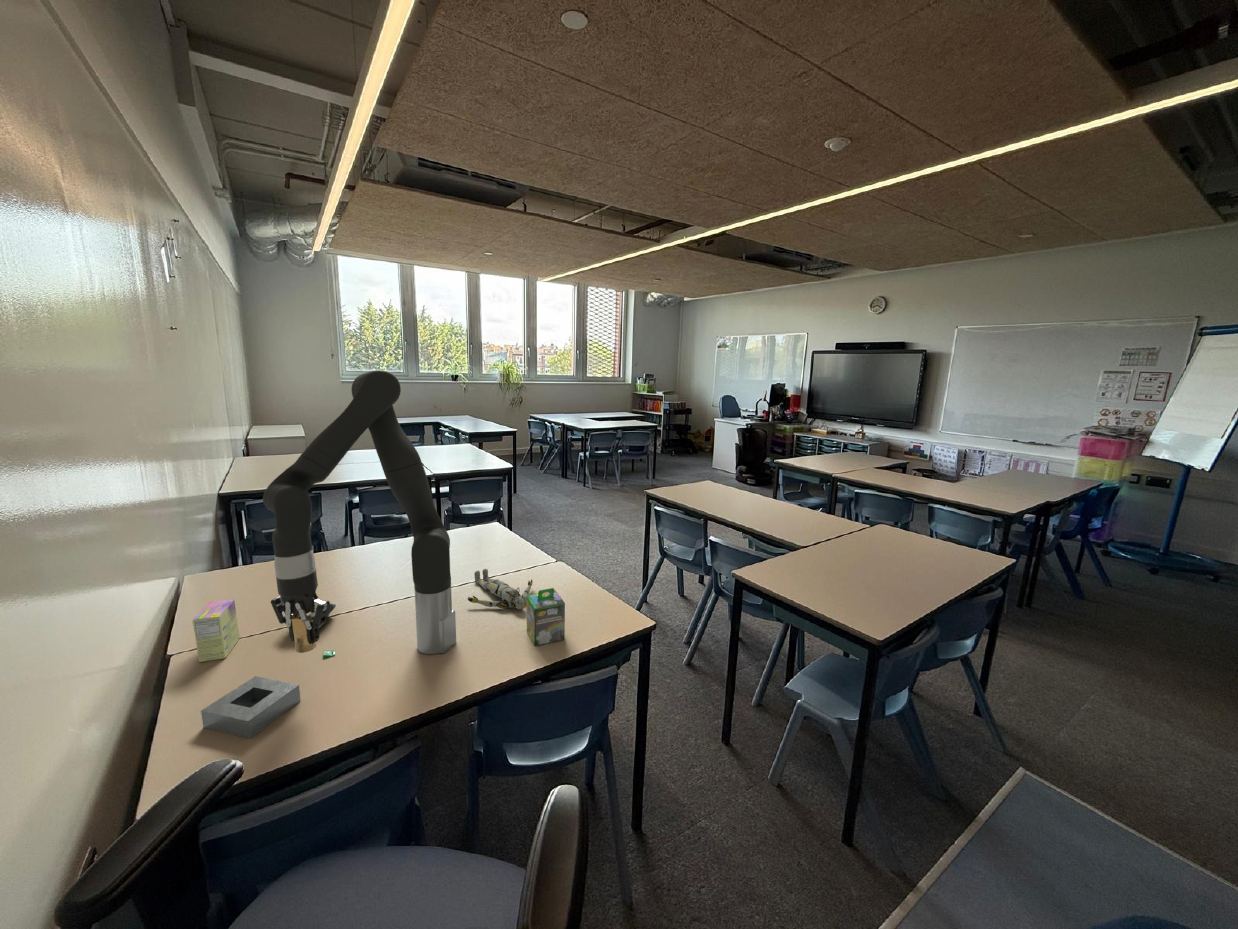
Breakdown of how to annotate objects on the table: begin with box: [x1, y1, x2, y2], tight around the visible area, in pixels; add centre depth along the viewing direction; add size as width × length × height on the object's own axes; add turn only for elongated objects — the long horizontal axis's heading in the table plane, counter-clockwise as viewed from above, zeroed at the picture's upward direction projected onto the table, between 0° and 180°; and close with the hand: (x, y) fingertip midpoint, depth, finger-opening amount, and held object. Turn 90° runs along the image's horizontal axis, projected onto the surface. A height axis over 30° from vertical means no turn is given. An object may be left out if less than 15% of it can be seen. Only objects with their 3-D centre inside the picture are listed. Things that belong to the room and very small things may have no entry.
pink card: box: [323, 649, 336, 659], centre depth 128 cm, size 3×3×1 cm
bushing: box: [291, 612, 317, 654], centre depth 111 cm, size 4×4×8 cm
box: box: [192, 598, 241, 663], centre depth 127 cm, size 10×6×12 cm, turn 21°
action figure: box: [467, 568, 533, 610], centre depth 164 cm, size 24×6×30 cm
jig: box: [200, 676, 301, 739], centre depth 105 cm, size 12×12×4 cm
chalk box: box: [525, 587, 566, 647], centre depth 139 cm, size 9×9×15 cm
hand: (305, 640), depth 112 cm, fingers closed on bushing, 4 cm apart
